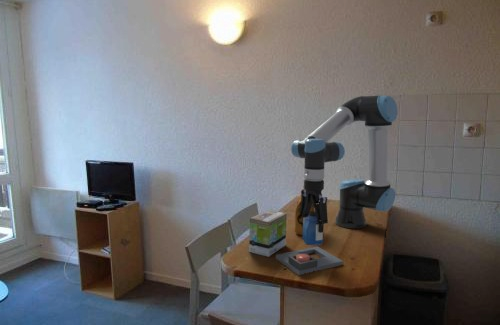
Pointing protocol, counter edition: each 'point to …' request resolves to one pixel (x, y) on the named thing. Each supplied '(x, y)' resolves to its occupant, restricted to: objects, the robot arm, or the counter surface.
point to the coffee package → (299, 217)
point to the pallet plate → (311, 265)
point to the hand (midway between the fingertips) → (312, 236)
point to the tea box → (267, 232)
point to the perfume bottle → (310, 230)
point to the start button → (302, 257)
